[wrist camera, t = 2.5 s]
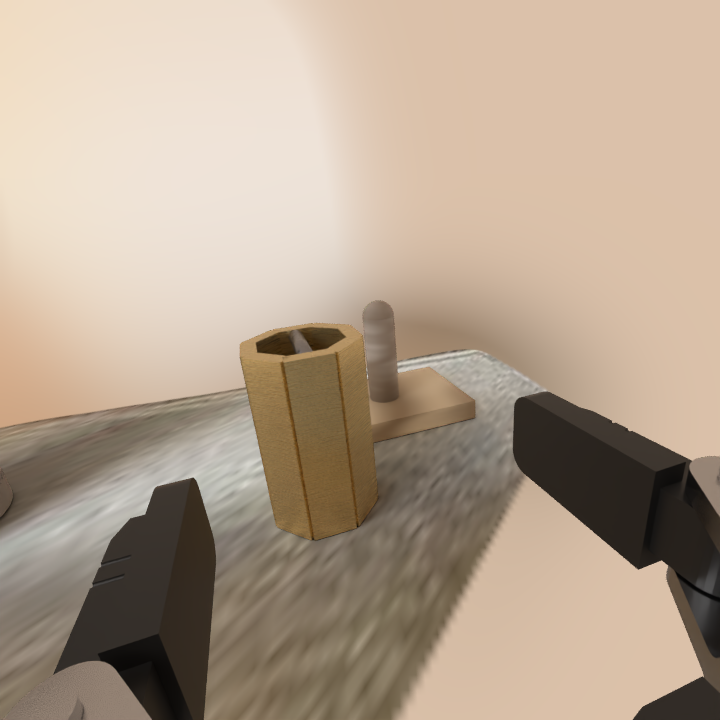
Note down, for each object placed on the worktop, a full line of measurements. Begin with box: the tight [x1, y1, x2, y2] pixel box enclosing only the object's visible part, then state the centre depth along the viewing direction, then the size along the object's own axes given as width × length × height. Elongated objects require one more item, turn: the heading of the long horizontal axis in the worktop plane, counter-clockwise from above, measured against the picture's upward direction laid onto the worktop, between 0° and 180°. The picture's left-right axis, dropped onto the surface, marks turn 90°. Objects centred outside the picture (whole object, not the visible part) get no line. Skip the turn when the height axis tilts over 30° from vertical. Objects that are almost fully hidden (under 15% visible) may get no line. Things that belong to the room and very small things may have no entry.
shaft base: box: [363, 301, 475, 443], centre depth 31 cm, size 12×8×10 cm, turn 106°
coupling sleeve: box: [240, 323, 378, 541], centre depth 21 cm, size 6×6×10 cm
